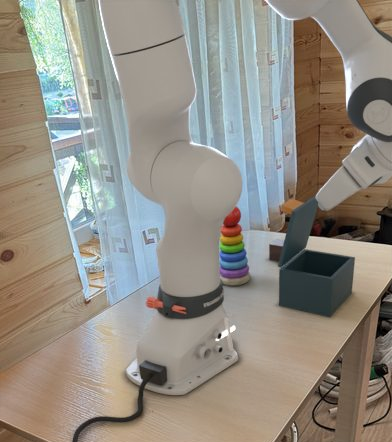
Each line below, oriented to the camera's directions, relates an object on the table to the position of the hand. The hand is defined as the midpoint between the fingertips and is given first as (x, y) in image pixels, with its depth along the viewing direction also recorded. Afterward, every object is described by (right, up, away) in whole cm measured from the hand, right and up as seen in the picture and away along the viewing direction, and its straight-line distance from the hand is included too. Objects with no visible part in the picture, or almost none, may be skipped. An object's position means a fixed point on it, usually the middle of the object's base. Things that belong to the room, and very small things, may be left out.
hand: (322, 205), depth 104 cm
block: (-3, -5, +33) cm, 33 cm away
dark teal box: (+1, -18, +11) cm, 21 cm away
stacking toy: (-16, -12, +24) cm, 31 cm away
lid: (-3, -4, +5) cm, 7 cm away
